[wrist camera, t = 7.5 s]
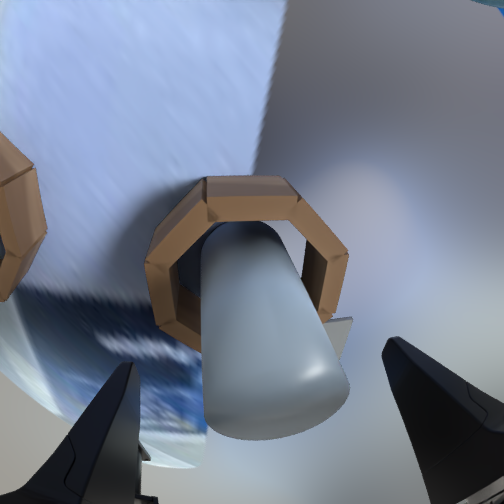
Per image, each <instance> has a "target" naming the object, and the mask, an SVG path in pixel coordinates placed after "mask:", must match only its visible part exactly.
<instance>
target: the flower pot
mask: <svg viewBox="0 0 504 504" xmlns="http://www.w3.org/2000/svg"><path fill="white" fill-rule="evenodd" d="M472 1H475V2H478V3H481V4H484V5H489V6H493V7H498V8H504V0H472Z"/></svg>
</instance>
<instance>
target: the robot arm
mask: <svg viewBox="0 0 504 504" xmlns="http://www.w3.org/2000/svg"><path fill="white" fill-rule="evenodd" d="M382 360H383V364H384V367H385V370H386V374H387V377H388V380H389V384H390V387H391V391H392V393H393V396H394V398H395V400H396V403H397V405H398V408H399V411H400V414H401V416H402V419H403V422H404V424H405V427H406V430H407V432H408V435H409V438H410V441H411V443H412V446H413V449H414V452H415V455H416V458H417V461H418V464H419V467H420V470H421V473H422V476H423V479H424V483H425V486H426V489H427V492H428V496H429V499H430V503H431V504H456V503H458V502H460V501H462V500H464V499H466V501H467V502H466V503H465V504H504V403H502V402H500V401H499V400H497V399H495V398H493V397H491V396H489V395H488V394H486V393H484V392H482V391H481V390H479V389H478V388H476V387H474V386H473V385H472V384H470V383H468V382H466V381H465V380H464V379H463V378H461V377H460V376H458V375H457V374H455V373H453V372H452V371H451V370H449V369H448V368H446V367H444V366H443V365H442V364H440V363H439V362H437V361H436V360H434V359H433V358H431V357H429V356H428V355H426V354H425V353H423V352H422V351H420V350H419V349H417V348H416V347H414V346H413V345H411V344H410V343H408V342H407V341H405V340H403V339H402V338H401V337H399V336H396V337H391V338H389V339H388V340H387V343H386V345H385V347H384V349H383V351H382ZM139 430H140V377H139V374H138V371H137V369H136V366H135V364H134V363H133V362H125V361H124V362H121V363H120V364H119V366H118V367H117V368H116V369H115V371H114V372H113V373H112V375H111V376H110V377H109V379H108V380H107V381H106V383H105V384H104V385H103V387H102V388H101V389H100V391H99V392H98V393H97V395H96V396H95V397H94V399H93V400H92V401H91V403H90V404H89V405H88V407H87V408H86V409H85V411H84V412H83V413H82V415H81V416H80V418H79V419H78V420H77V422H76V423H75V424H74V426H73V427H72V429H71V430H70V432H69V433H68V435H66V437H65V438H64V440H63V441H62V442H61V444H60V445H59V446H58V448H57V449H56V450H55V452H54V453H53V454H52V455H51V456H50V457H49V459H48V460H47V461H46V462H45V463H44V464H43V465H42V467H41V468H40V469H39V470H38V471H37V472H36V473H35V474H34V475H33V476H32V478H31V479H30V480H29V481H28V482H27V483H26V484H25V485H24V486H22V487H21V488H19V489H17V490H16V491H13V492H10V493H7V494H3V495H0V504H159V503H158V497H155V496H151V497H150V496H145V495H141V468H142V461H150V460H151V457H150V455H149V454H148V453H147V451H146V450H145V449H144V447H143V446H142V444H141V443H140V441H139Z"/></svg>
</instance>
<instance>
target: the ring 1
mask: <svg viewBox="0 0 504 504" xmlns="http://www.w3.org/2000/svg"><path fill="white" fill-rule="evenodd" d="M33 165H34V164H33V163H32V162H31V161H30V160H29V159H28V158H27V157H26V156H25V155H24V154H23V153H22V152H20V151H19V150H18V149H17V148H16V147H15V146H14V145H13V144H12V143H11V142H10V141H9V140H8V139H7V138H6V137H5V136H4V135H3V134H2V133H1V132H0V235H1V238H2V241H3V245H4V248H5V251H6V253H5V256H4V259H0V302H5V300H6V301H7V299H8V298H9V296H10V295H11V293H12V292H13V291H14V289H15V288H16V286H17V285H18V284H19V282H20V281H21V280H22V278H23V277H24V276H25V274H26V273H27V272H28V270H29V268H30V266H31V264H32V262H33V259H34V257H35V255H36V253H37V251H38V249H39V247H40V245H41V243H42V241H43V239H44V238H45V236H46V234H47V232H46V230H47V229H48V228H47V224H46V220H45V216H44V211H43V206H42V202H41V196H40V191H39V186H38V180H37V173H36V168H32V167H33Z"/></svg>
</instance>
